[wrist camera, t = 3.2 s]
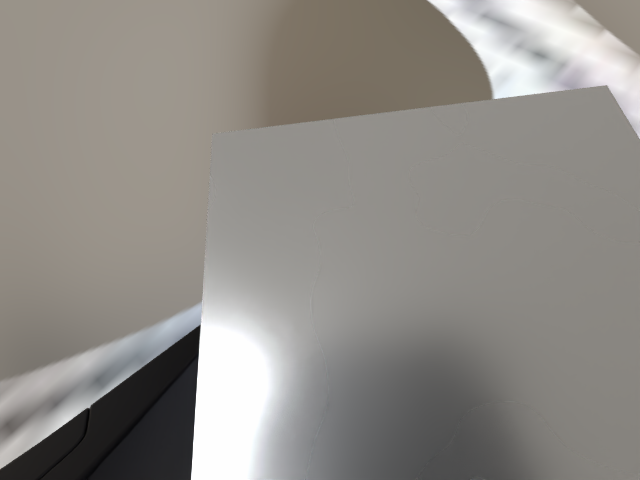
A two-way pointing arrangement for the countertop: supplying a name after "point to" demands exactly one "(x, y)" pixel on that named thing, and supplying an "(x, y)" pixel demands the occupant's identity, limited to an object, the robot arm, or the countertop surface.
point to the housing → (425, 296)
